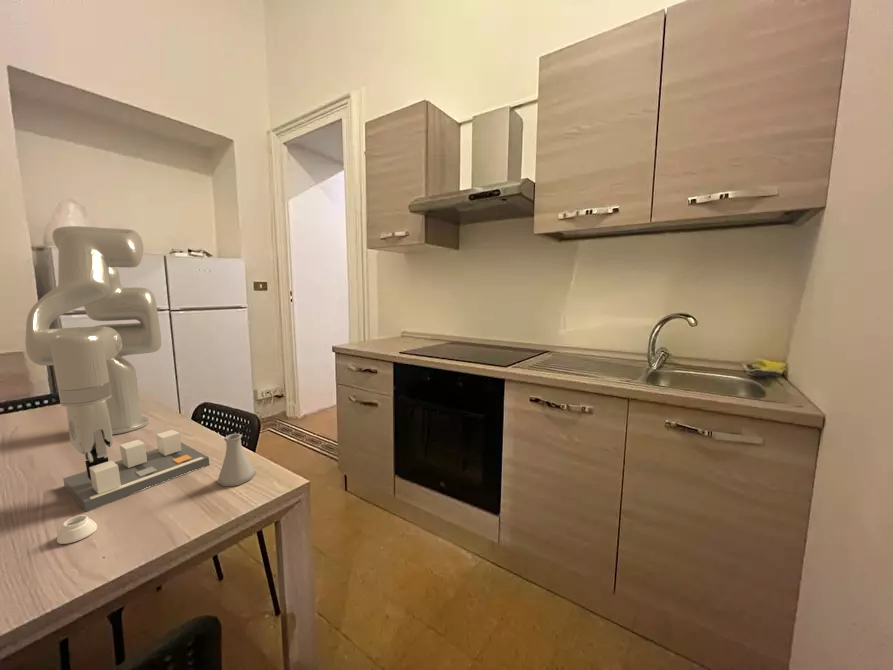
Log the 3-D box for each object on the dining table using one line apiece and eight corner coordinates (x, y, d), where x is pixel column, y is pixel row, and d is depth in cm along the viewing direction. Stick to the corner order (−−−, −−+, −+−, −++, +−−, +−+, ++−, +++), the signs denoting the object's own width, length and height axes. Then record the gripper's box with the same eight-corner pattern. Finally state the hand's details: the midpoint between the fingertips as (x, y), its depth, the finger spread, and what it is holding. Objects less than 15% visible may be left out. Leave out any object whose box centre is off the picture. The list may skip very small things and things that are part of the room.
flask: (239, 489, 79) (234, 444, 78) (210, 485, 81) (205, 441, 79) (262, 472, 86) (258, 431, 85) (235, 469, 88) (231, 428, 86)
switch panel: (64, 486, 81) (63, 477, 80) (180, 448, 99) (179, 440, 98) (85, 511, 72) (84, 501, 71) (209, 464, 90) (208, 456, 89)
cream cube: (158, 451, 92) (156, 434, 91) (174, 446, 95) (172, 429, 94) (165, 455, 90) (162, 438, 89) (181, 450, 92) (179, 433, 92)
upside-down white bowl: (66, 531, 66) (50, 549, 62) (64, 516, 66) (47, 533, 61) (102, 523, 68) (89, 540, 64) (100, 508, 68) (87, 525, 63)
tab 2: (122, 463, 86) (119, 444, 85) (140, 457, 89) (138, 439, 88) (128, 467, 84) (125, 449, 83) (147, 461, 87) (144, 443, 86)
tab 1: (92, 487, 76) (89, 467, 75) (114, 480, 79) (111, 460, 78) (98, 494, 74) (95, 472, 73) (121, 486, 76) (118, 465, 76)
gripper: (51, 391, 76) (65, 473, 80) (69, 406, 68) (85, 497, 71) (99, 382, 82) (111, 458, 86) (121, 395, 74) (134, 480, 77)
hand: (99, 476), depth 78 cm, fingers closed
